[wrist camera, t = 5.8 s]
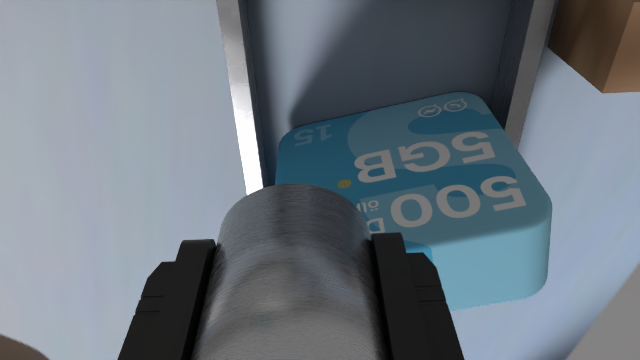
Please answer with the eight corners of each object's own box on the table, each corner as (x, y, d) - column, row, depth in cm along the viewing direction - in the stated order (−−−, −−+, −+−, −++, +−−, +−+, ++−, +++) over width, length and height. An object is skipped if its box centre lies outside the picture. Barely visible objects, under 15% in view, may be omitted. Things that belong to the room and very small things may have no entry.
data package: (475, 85, 27) (568, 219, 18) (477, 148, 30) (560, 295, 20) (278, 129, 29) (264, 275, 19) (297, 185, 31) (293, 339, 22)
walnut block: (618, 43, 26) (690, 89, 21) (547, 46, 26) (602, 93, 21) (645, -34, 24) (732, -2, 19) (566, -31, 24) (634, 2, 19)
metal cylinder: (373, 180, 11) (422, 439, 6) (368, 291, 13) (402, 542, 9) (207, 186, 11) (128, 451, 6) (231, 296, 14) (187, 550, 9)
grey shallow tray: (480, 227, 34) (491, 252, 32) (260, 236, 34) (258, 261, 32) (555, -108, 22) (581, -103, 20) (212, -93, 22) (202, -86, 20)
